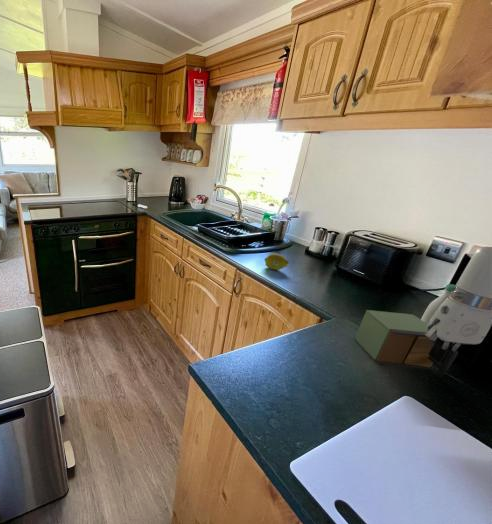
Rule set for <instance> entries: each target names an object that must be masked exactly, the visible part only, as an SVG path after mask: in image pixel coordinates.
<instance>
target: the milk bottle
mask: <svg viewBox="0 0 492 524" xmlns="http://www.w3.org/2000/svg"><path fill="white" fill-rule="evenodd" d="M455 286H456V284H453V283H447V284H446V286H445V287H444V289H443V293H442V294H440V296H438V297H437V298H435V299H434V300H432V301H431V302H430V303H429V305H428V306H427V307H426V309H425V311H424V313H423V315H422V316H421V318H420V320H422V321H423V322H425V323H426V324H428V323H429V321H430V319H431V318H432V316H433V315H434V313H435V312H436V310H437V309H438V308H439V307H440V305H441V304H442V303H443V302H444V301H445V300H446V299H447V298H449V296H450V292H452V291H453V289H454V287H455Z"/></svg>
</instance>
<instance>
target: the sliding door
mask: <svg viewBox="0 0 492 524" xmlns="http://www.w3.org/2000/svg"><path fill="white" fill-rule="evenodd" d="M434 344H435V343H434V342H433V340H430V339H429V338H427V337H422V336H418V337H417V339H416V341H415V343H414V345H413V346H412V348H411V350H410V352H409V354H408V356H407V358H406V360H405V362H404V364H406V365H416V366H425V367H429V368H432V366H433V364H434V365H435V366H436V367H438V368H439V369H438V372H439V373H441V374H443V375H446V374H447V372H448V370H449V369H450V368H451V365H452V364H453V362H454V361H455V359H456V358H457V356H458V354H459V351H458V350H455V351H453V350H452V353H451V355H450V356H449V358H448V359H447V361H446V362H445V363H442V364H441V362H437V361H436V360H435V359H433V358H432V357H431V356H430V355H429V352H430V351H431V349H432V347H433V346H434Z"/></svg>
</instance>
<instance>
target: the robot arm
mask: <svg viewBox="0 0 492 524" xmlns="http://www.w3.org/2000/svg"><path fill="white" fill-rule="evenodd" d="M455 285H456V286H455V287H454V289H453V291H452V292H450V296H449V298H447V299H446V300H445V301H444V302H443V303H442V304H441V305H440V307H439V308H438V309H437V310H436V312H435V313H434V315H433V316H432V318H431V319H430V321H429V323H428V325H427V330H428V332H427V333H426V335H425V336H426V337H427V338H429V339H430V340H433V342H434V343H435V344H434V346H433V347H432V349H431V351H430V352H429V355H430V356H431V357H432V358H433V359H435V360H436V361H437V362H438V363H442V364H443V363H445V362H446V361H447V359H448V358H449V356H450V355H451V353H452V350H453V351H455V350H456V351H458V349H459V348H460V347H461V346H463V345H479V344H481V343H482V342H483V341H484V339H485V338H486V336H487V334H488V333H489V331H490V329H491V327H492V246H481V247H478V248H477V249H476V250H475V251H474V253H473V255H472V256H471V258H470V260H469V261H468V263H467V264H466V266H465V268H464V270H463V271H462V273H461V275H460V277H459V279H458V280H457V282H456V284H455Z"/></svg>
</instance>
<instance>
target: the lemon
mask: <svg viewBox="0 0 492 524" xmlns="http://www.w3.org/2000/svg"><path fill="white" fill-rule="evenodd" d="M264 262H265V266H266V267H267V268H268V269H270V270H272V269H273V270H272V271H279V270H282V269H284V268H285V267H288V265H289V263H290V262H289V260H288V259H286V257H284V256H283V255H281V254H279V253H270V254H269V255H267V256H266V257H265V258H264Z"/></svg>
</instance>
